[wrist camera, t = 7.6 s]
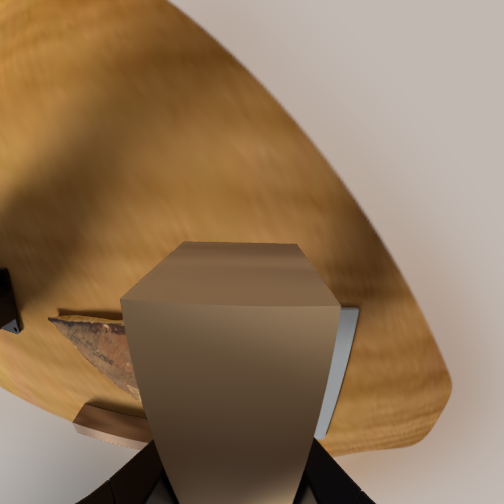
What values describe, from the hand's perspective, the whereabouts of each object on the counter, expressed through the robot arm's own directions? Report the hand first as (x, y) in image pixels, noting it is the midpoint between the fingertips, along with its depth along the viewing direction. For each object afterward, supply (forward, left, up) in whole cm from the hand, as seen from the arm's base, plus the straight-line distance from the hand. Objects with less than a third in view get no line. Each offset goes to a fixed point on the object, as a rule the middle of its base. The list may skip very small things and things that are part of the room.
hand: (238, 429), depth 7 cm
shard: (-10, -6, -12) cm, 17 cm away
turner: (0, -1, -1) cm, 2 cm away
